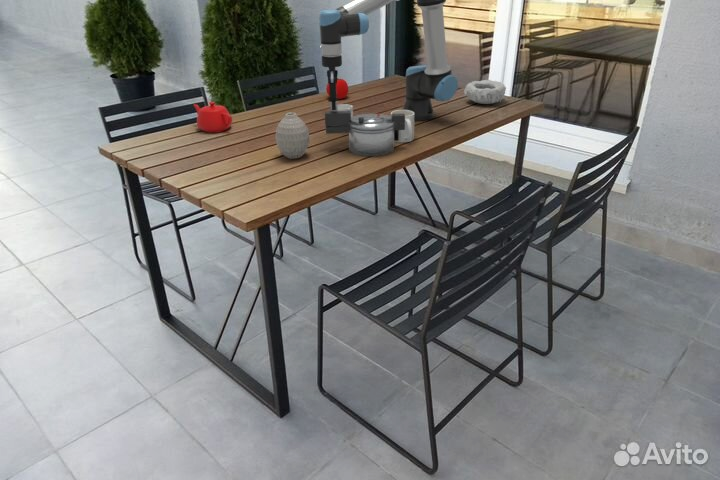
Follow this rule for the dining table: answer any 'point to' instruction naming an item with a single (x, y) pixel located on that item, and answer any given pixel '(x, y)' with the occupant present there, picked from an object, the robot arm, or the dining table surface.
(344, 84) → the tomato
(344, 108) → the cup
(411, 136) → the mug
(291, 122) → the vase
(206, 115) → the teapot
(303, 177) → the dining table surface
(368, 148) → the pot
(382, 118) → the lid
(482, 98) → the bowl
